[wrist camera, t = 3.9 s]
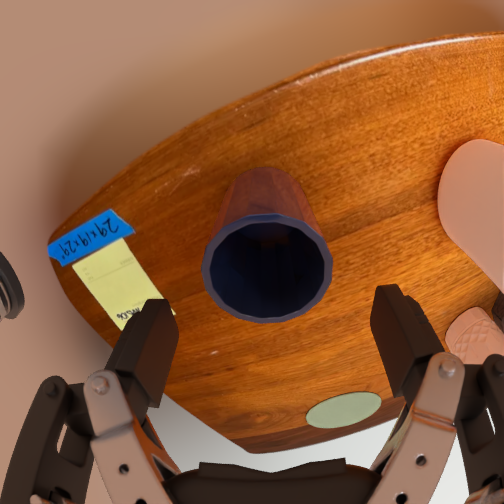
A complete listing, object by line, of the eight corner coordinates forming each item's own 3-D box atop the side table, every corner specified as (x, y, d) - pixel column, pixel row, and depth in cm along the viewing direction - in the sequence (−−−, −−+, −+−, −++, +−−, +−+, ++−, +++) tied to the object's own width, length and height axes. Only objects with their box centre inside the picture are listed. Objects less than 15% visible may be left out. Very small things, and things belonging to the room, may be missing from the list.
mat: (304, 430, 39) (304, 431, 39) (308, 398, 33) (308, 399, 33) (371, 420, 38) (371, 421, 38) (389, 385, 33) (390, 386, 32)
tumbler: (230, 245, 22) (214, 325, 14) (219, 170, 19) (189, 220, 11) (306, 239, 22) (328, 318, 14) (303, 164, 19) (335, 209, 11)
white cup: (480, 332, 28) (510, 383, 19) (438, 354, 30) (463, 412, 21) (490, 293, 24) (530, 347, 16) (443, 317, 26) (480, 382, 17)
